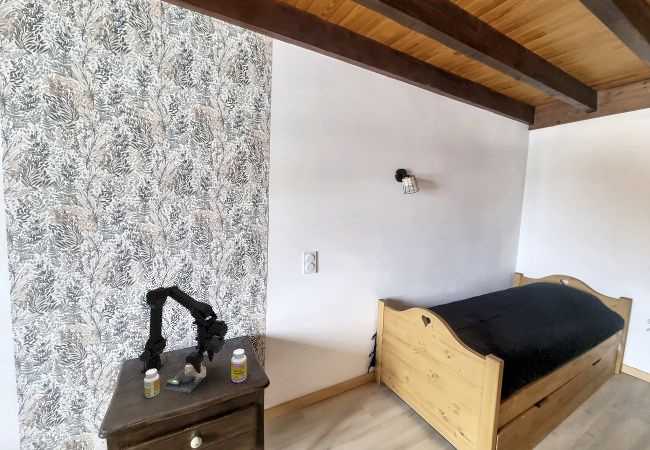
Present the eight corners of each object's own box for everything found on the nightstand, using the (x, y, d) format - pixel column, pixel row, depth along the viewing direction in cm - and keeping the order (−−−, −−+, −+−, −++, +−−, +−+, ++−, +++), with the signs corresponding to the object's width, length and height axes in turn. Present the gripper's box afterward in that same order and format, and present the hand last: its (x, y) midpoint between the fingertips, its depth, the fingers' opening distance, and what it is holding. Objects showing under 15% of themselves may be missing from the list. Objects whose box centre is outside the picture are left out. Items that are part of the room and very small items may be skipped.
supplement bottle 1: (159, 387, 119) (158, 366, 118) (160, 395, 115) (159, 372, 114) (144, 392, 116) (143, 370, 115) (144, 399, 112) (143, 377, 111)
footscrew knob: (173, 382, 120) (173, 369, 119) (184, 372, 127) (183, 360, 126) (200, 385, 118) (199, 372, 118) (209, 375, 125) (209, 363, 124)
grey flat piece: (164, 389, 118) (164, 381, 118) (189, 366, 135) (189, 358, 134) (190, 392, 116) (189, 384, 116) (212, 368, 133) (212, 361, 133)
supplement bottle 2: (231, 384, 122) (230, 356, 120) (231, 375, 128) (231, 348, 127) (246, 381, 123) (246, 354, 122) (246, 373, 130) (246, 346, 129)
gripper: (208, 346, 113) (209, 382, 114) (231, 326, 131) (231, 357, 133) (184, 343, 115) (185, 379, 116) (209, 324, 133) (210, 355, 135)
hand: (205, 367), depth 125 cm, fingers open, 9 cm apart
